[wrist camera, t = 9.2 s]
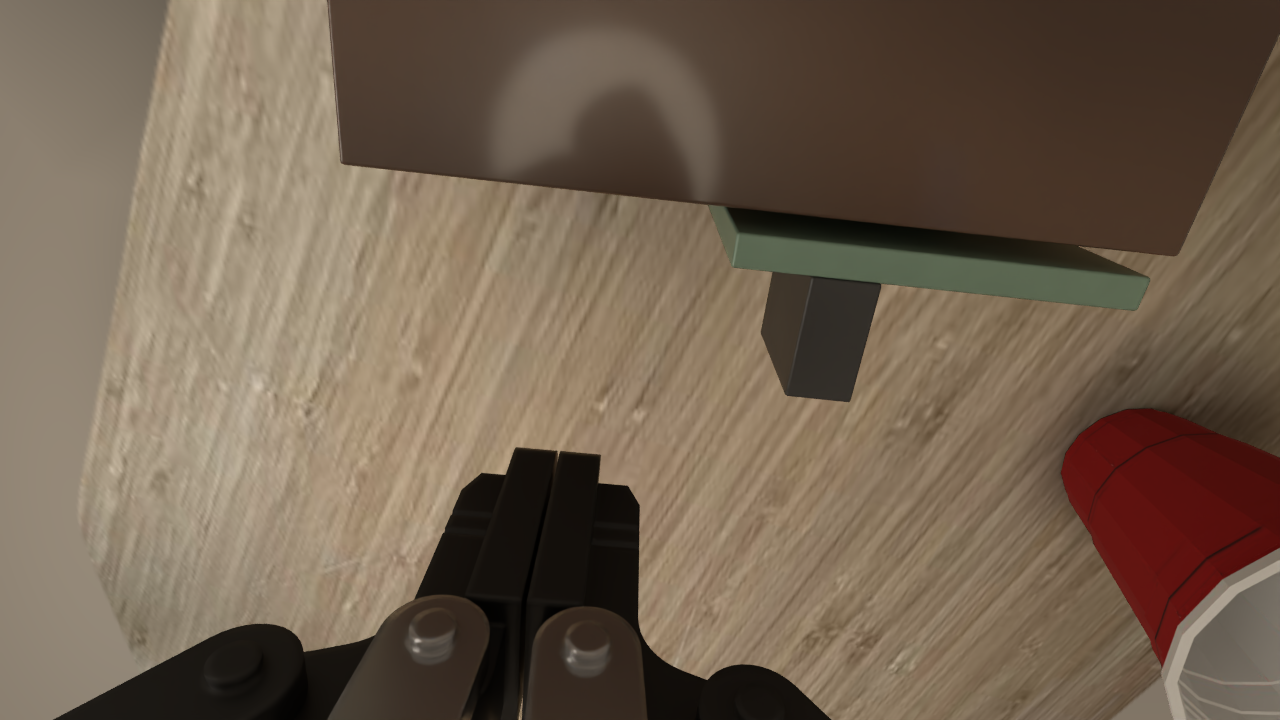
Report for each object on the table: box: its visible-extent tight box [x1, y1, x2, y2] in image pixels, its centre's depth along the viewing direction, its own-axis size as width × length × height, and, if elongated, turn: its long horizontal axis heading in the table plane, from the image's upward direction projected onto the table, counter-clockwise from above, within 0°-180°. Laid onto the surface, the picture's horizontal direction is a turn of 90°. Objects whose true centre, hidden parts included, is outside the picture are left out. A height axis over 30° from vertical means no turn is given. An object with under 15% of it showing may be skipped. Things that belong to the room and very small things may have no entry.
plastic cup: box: [1061, 408, 1280, 720], centre depth 25 cm, size 11×11×12 cm
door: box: [708, 205, 1150, 402], centre depth 20 cm, size 4×9×11 cm, turn 84°
